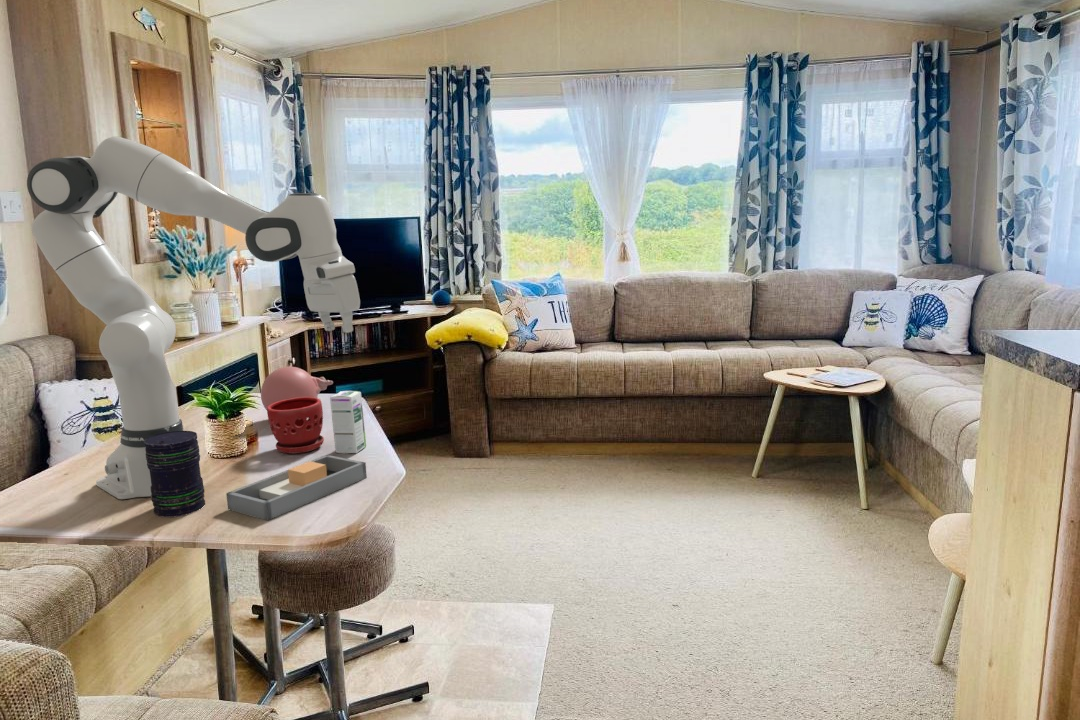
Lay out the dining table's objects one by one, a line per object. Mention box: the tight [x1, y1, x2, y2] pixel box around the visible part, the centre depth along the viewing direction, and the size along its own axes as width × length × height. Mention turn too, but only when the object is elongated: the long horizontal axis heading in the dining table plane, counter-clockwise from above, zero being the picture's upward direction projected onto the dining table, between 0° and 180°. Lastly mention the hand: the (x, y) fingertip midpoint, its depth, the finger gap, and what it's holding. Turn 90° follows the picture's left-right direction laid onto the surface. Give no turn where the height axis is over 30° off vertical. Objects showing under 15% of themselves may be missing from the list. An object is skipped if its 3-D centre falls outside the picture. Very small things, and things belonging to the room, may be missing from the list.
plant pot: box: [266, 397, 325, 455], centre depth 197 cm, size 13×13×12 cm
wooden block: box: [287, 460, 327, 486], centre depth 168 cm, size 5×6×3 cm
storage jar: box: [144, 430, 206, 518], centre depth 159 cm, size 10×10×15 cm
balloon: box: [260, 366, 334, 420], centre depth 224 cm, size 15×20×15 cm
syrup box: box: [329, 390, 367, 454], centre depth 194 cm, size 6×6×14 cm
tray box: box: [225, 454, 368, 521], centre depth 167 cm, size 12×27×4 cm, turn 148°
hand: (339, 331), depth 170 cm, fingers open, 8 cm apart
